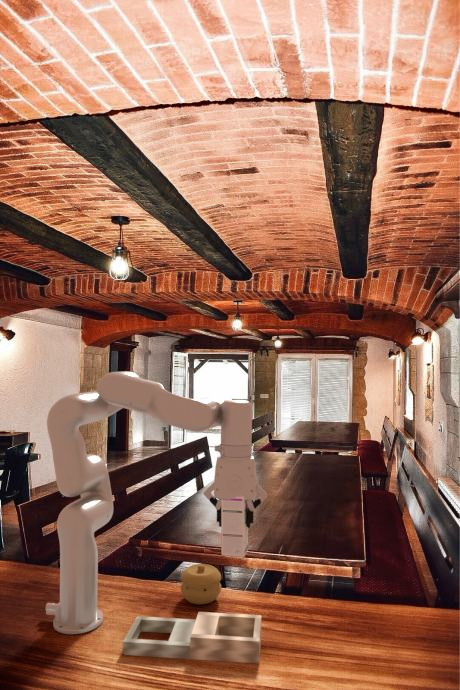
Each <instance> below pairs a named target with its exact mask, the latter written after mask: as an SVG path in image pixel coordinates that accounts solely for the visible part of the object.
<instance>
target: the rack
mask: <svg viewBox="0 0 460 690" xmlns="http://www.w3.org/2000/svg"><path fill="white" fill-rule="evenodd" d="M141 632H144V633H145V632H147V633H148V632H149V633H164V634H165V633H166V634H170V636H169V638H168V640H158V639H143V638H140V639H139V636H140V635H141ZM261 645H262V615H261V614H248V613H247V614H245V613H244V614H243V613H242V614H241V613H229V612H228V613H226V612H209V611H198V613H197V616H196V618H194V619H193V618H192V619H191V618H175V617H174V618H173V617H157V616H155V617H154V616H142V615H137V616H136V618H135V619H134V621H133V623H132V625H131V627H130V628H129V630H128V632H127V634H126V636H125V637H124V639H123V641H122V655H123V654H124V656H135V657H137V656H138V657H139V656H140V657H150V658H151V657H152V658H153V657H155V658H165V659H166V658H169V659H182V660H183V659H185V660H198V661H199V660H200V661H212V662H213V661H215V662H230V663H246V664H256V665H257V664H260V661H261V660H260V656H261Z"/></svg>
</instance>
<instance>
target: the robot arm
mask: <svg viewBox="0 0 460 690" xmlns="http://www.w3.org/2000/svg"><path fill="white" fill-rule="evenodd" d="M122 409H127V410H129V411H130V410H131V411H134V412H138V413H140V414H143V415H148V416H150V417H152V418H153V419H155V420H158V421H159V422H162V423H163V424H165V425H169V426H171V427H176V428H178V429H182V430H186V431H189V432H196V433H203V432H206V431H207V430H210V429H213V428H217V427H220V444H218V445H214V451H215V452H218V453H219V455H218V456H217V457H216V462H215V467H214V469H215V470H214V479H213V480H214V481H213V482H212V483H211V485H209V486H208V487H207V488H206V489H205V490H204V491H203V495H204V496H205V498H206V499H207V500H208V501H209V502H210V503H211V504H212V505H213V507H214V508H215V509H216V523H218V526H219V527H220V528H221V499H234V498H235V497H240V496H244V500H245V501H246V502H247V504H248V511H247V527H248V529H250V528H251V524H254V516H255V515H254V511H255V510H256V509H257V507H259V506H260V505H261V503H262V502H264V501H265V500H266V499H267V498H268V493H267V492H266V491H265V490H264V488H262V486H261V485H260V484H259V483H258V481H257V468H256V461H255V457H254V455H252V444H253V443H252V436H253V434H252V432H253V431H252V430H253V429H252V428H253V425H252V424H253V405H252V403H251V402H250V401H249V400H245V399H223V398H216V397H203V398H200V399H194V398H190V397H186V396H181V395H179V394H175V393H172V392H170V391H169V390H166V389H165V387H164V386H163V384H162V383H160V382H157V381H154V380H149V379H145V378H142V377H140V376H139V375H138V374H136V373H135V372H133V371H129V370H128V371H127V370H124V371H111V372H107V373H106V374H104V375H103V376H102V377H101V378H100V379H99V381H98V383H97V387H96V389H95V390H92V391H87V392H78V393H72V394H68V395H65V396H64V397H63V396H62V397H61V398H60V399H58V400H57V401H56V402H55V403H54V404H53V405H52V406H51V408H50V409H49V411H48V414H47V419H46V427H47V428H46V430H47V433H48V437H49V438H48V439H49V441H50V446H51V447H50V448H51V451H52V459H53V460H52V461H53V467H54V473H55V480H56V485H57V486H56V487H57V489H58V491H59V493H61V495H63V496H64V497H67V498H72V497H73V498H74V497H77V496H80V498H78V499H76V500H74V501H73V502H70V503H69V504H68V505H66V506H65V507H63V508H62V510H61V511H60V513H59V514H58V518H57V520H56V528H57V534H58V535H57V536H58V540H59V554H60V555H59V564H60V567H59V602H58V603H54V602H53V603H51V602H47V603H46V604H45V611H46V612H45V614H46V615H47V616H54V618H53V623H52V626H53V629H54V630H55V631H57V632H58V633H61V634H64V635H79V634H86V633H88V632H90V631H93V630H95V629H96V628H98V627H99V626H100V625H102V623H103V620H104V613H103V611H102V610H100V609H99V608H98V580H99V579H98V578H99V577H98V574H99V572H98V571H99V570H98V569H99V568H98V567H99V564H98V563H99V562H98V561H99V559H98V558H99V556H98V555H99V554H98V553H99V550H98V545H97V542H96V538H95V532H97V530H99V529H101V528H103V527H104V526H105V525H107V524H108V523H109V522H110V520H111V519H112V517H113V514H114V500H113V494H112V488H111V481H110V475H109V469H108V467H107V464H106V463H105V461H104V460H103V458H101V457H100V456H99V455H96V454H92V453H91V454H89V453H87V450H86V443H85V442H86V441H85V439H84V437H83V435H82V432H81V431H80V430H79V428H80V427H81V426H83V425H89V424H93V423H97V422H101V421H103V420H106V419H107V418H108V417H110V416H112V415H114V414H115V413H117V412H119V411H120V410H122ZM212 492H213V494H212ZM257 493H258V494H259V496H258V497H257V498H256V496H257ZM255 498H256V499H255ZM254 499H255V500H254Z"/></svg>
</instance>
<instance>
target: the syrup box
mask: <svg viewBox="0 0 460 690" xmlns="http://www.w3.org/2000/svg"><path fill="white" fill-rule="evenodd" d="M247 511H248V504H247V502H246V501H245V500H244V496H240V497H235V498H234V499H221V527H220V528H221V530H220V531H221V534H220V535H221V536H220V537H221V539H220V540H221V542H220V543H221V545H220V546H221V548H220V550H221V551H220V552H221V554H220V555H222V556H225V557H230V558H231V557H233V558H245V557H246V554H247V552H248V550H249V528H248V527H247Z"/></svg>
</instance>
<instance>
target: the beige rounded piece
mask: <svg viewBox="0 0 460 690" xmlns="http://www.w3.org/2000/svg"><path fill="white" fill-rule="evenodd" d="M221 580H222V574H221V572H220V571H219V570H218V568H217V567H215V566H213V565H211V564H207V563H197V564H192V565H190V566H188V567H187V568H185V570H183V571H182V573H181V575H180V581H181V585H180V592H181V594H182V596H183V598H184V599H185V600H186V601H188V602H189V603H191V604H192V605H206V604H207V605H208V604H210V603H212V602H213V601H215V600H217V597H218V596H219V595H220V593H221V591H222V584H221V583H220V582H221Z"/></svg>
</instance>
